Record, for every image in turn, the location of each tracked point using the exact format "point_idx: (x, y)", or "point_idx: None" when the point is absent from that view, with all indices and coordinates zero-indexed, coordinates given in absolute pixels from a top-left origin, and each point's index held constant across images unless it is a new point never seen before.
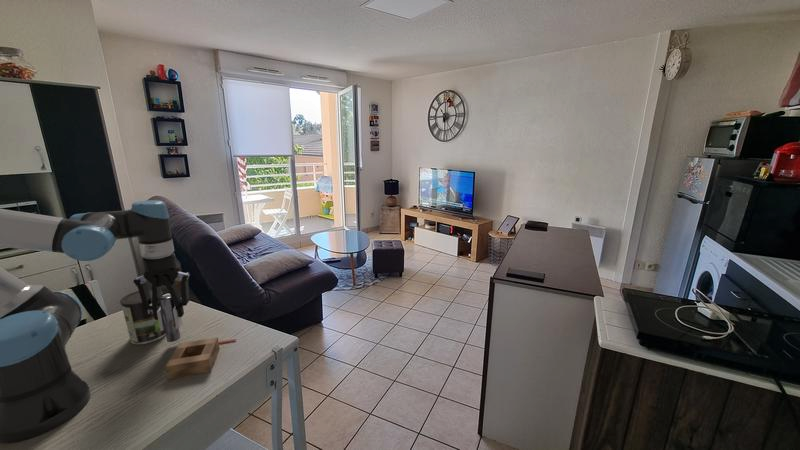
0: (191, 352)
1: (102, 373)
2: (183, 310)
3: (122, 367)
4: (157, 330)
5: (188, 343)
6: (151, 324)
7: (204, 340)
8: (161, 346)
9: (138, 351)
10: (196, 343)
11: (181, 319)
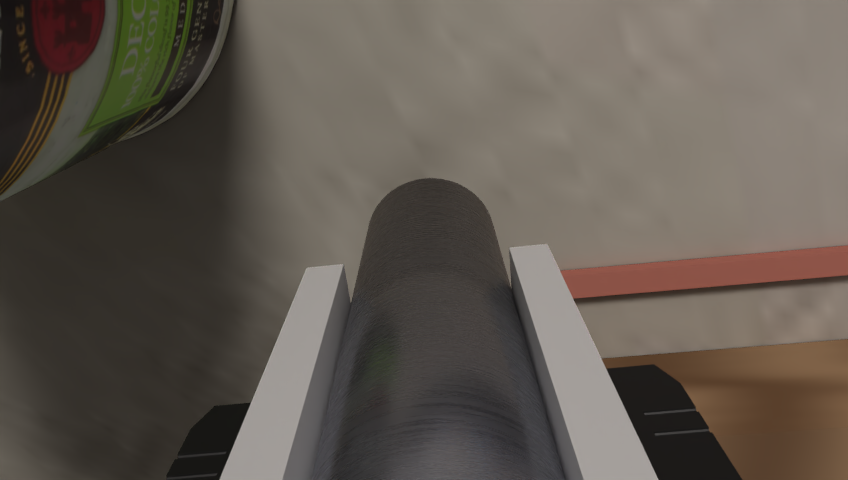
0: None
1: (71, 457)
2: (707, 432)
3: (166, 423)
4: (160, 92)
5: None
6: (67, 156)
7: (826, 443)
8: (309, 209)
9: (138, 249)
10: (755, 474)
11: (562, 280)
